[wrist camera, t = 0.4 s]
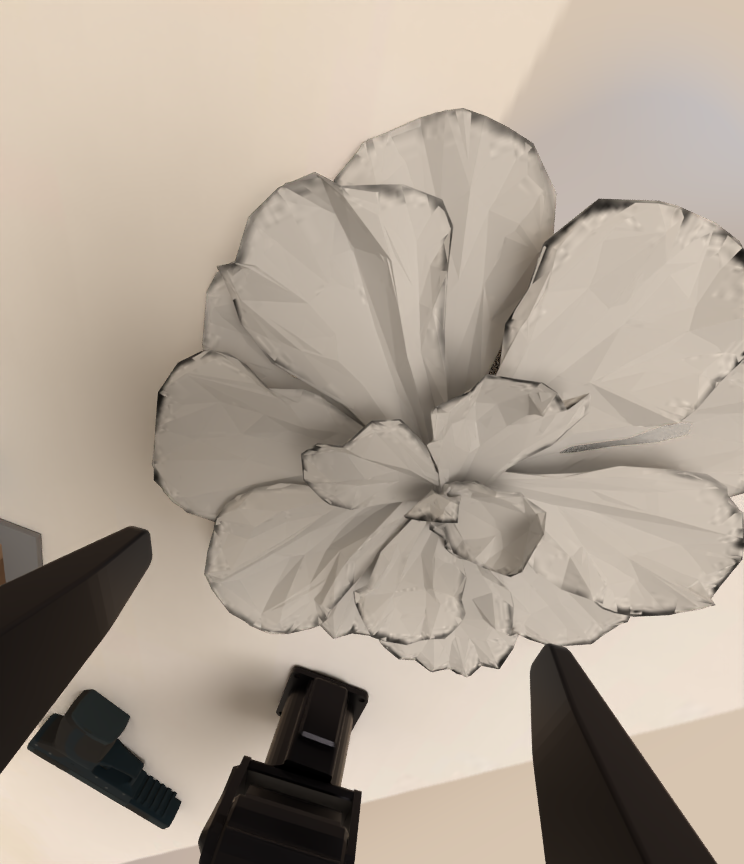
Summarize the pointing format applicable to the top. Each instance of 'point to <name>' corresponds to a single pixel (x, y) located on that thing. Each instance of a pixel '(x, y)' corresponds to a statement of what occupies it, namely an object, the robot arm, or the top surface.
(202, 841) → the robot arm
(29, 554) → the mat
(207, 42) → the top surface
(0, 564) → the brown square open frame
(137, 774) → the handgun
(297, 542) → the decorative wall flower
